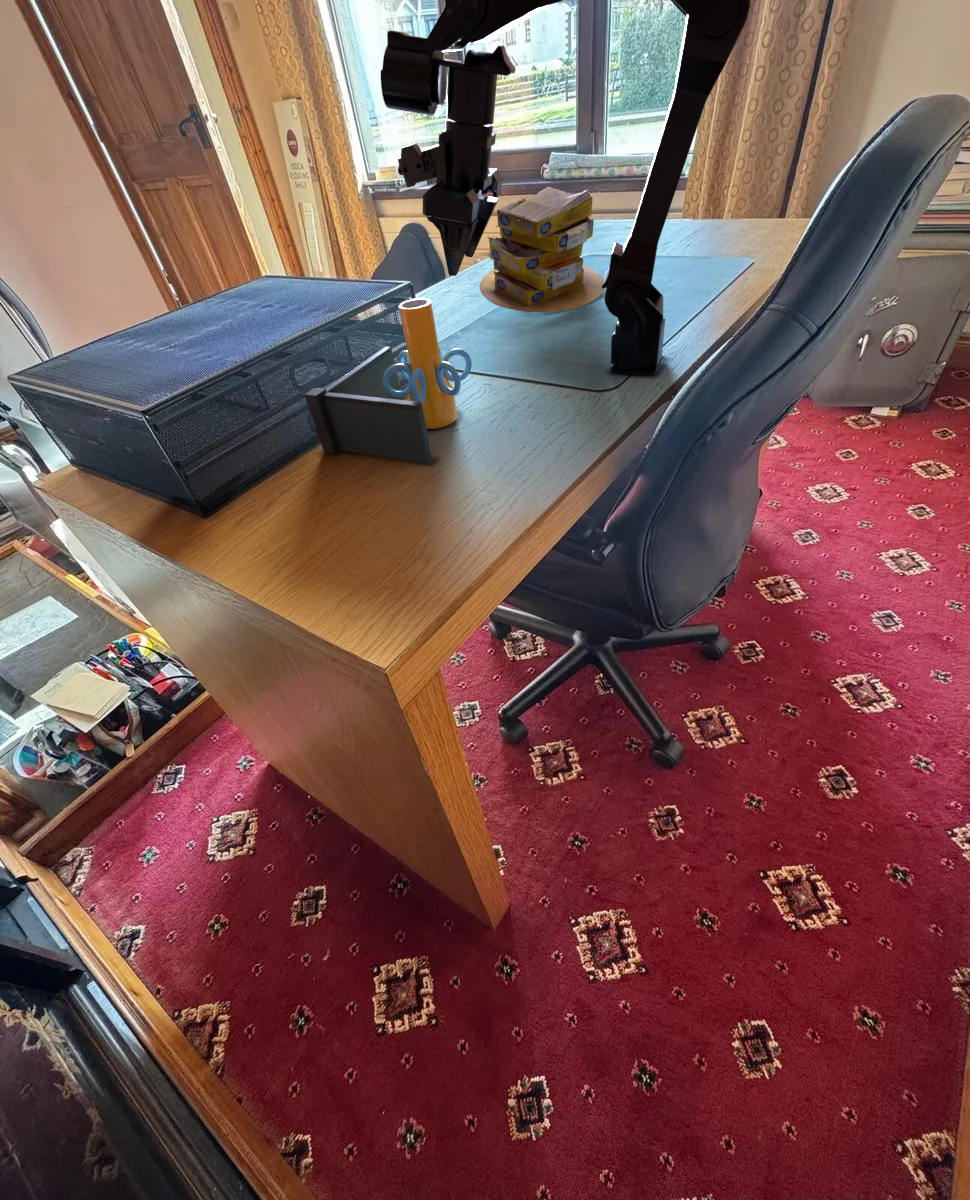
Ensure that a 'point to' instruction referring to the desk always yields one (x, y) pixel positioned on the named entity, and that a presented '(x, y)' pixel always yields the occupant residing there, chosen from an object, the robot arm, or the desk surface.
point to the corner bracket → (369, 414)
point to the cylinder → (427, 366)
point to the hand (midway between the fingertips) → (461, 265)
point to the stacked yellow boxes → (542, 254)
